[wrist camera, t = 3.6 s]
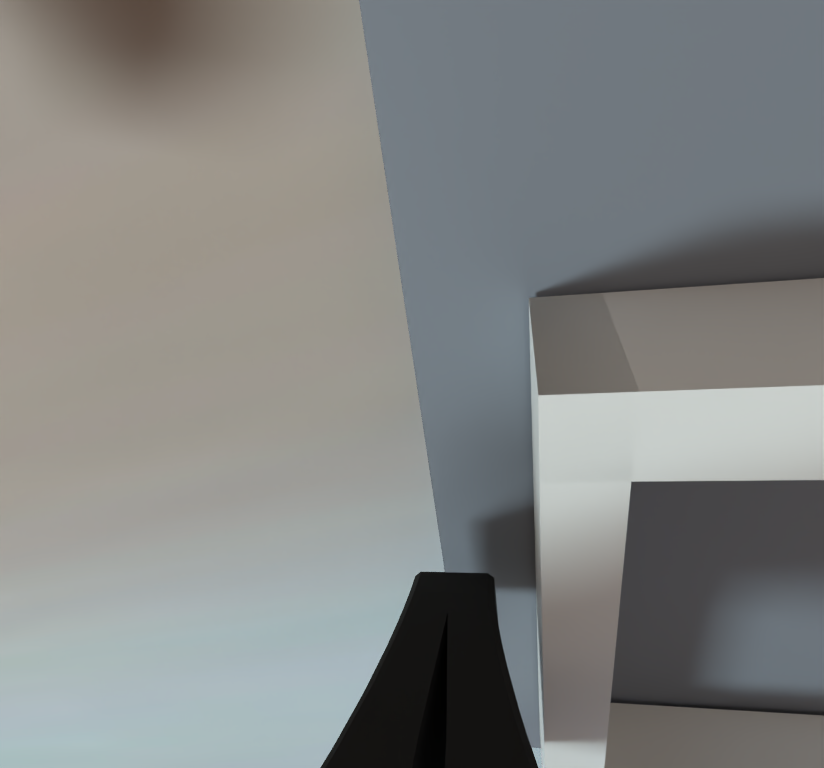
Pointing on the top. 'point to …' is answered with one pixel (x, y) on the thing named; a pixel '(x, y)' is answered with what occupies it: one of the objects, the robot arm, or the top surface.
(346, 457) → the top surface
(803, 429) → the white u-shaped piece
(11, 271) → the top surface
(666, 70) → the board
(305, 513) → the top surface
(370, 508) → the top surface
